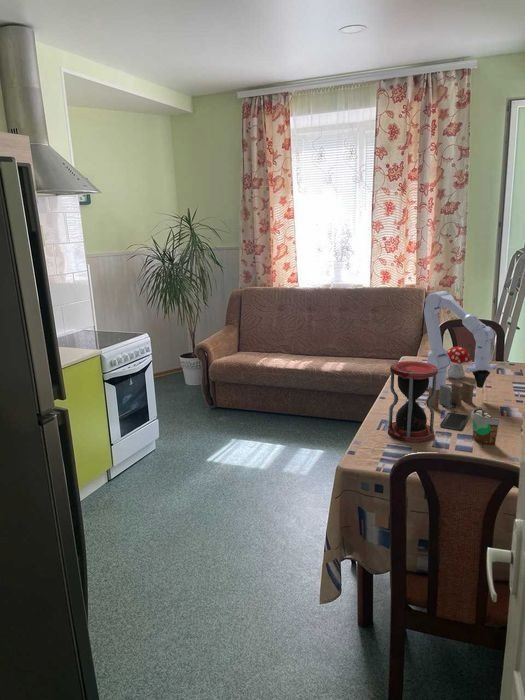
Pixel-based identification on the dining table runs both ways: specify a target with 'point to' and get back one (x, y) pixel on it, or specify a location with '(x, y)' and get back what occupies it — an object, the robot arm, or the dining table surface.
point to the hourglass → (412, 401)
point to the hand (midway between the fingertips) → (479, 387)
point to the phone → (454, 421)
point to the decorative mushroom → (457, 362)
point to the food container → (484, 426)
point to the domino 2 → (445, 395)
